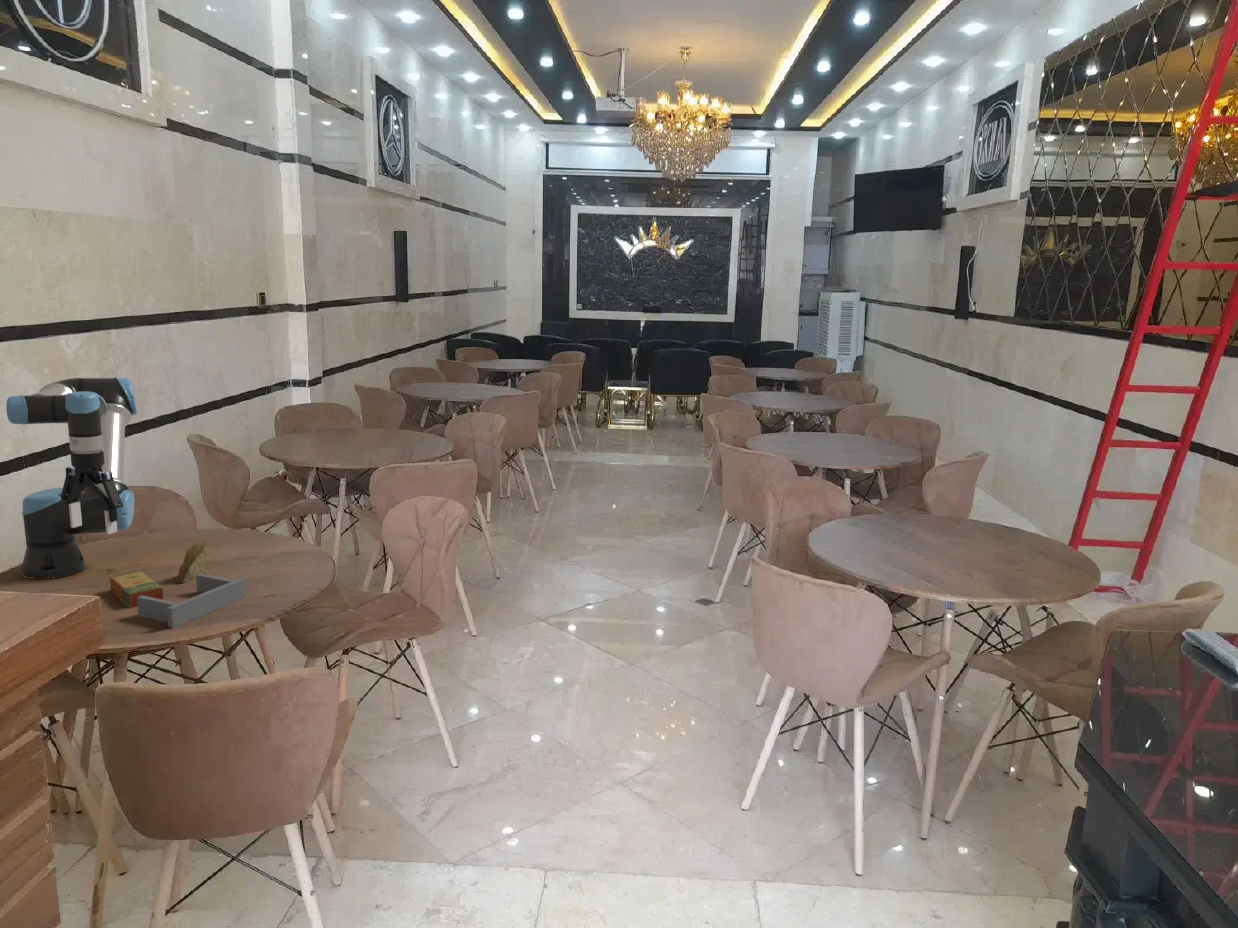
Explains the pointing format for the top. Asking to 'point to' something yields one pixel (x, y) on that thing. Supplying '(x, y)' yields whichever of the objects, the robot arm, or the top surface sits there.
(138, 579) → the carton
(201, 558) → the rock
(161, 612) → the u stop
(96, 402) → the robot arm
